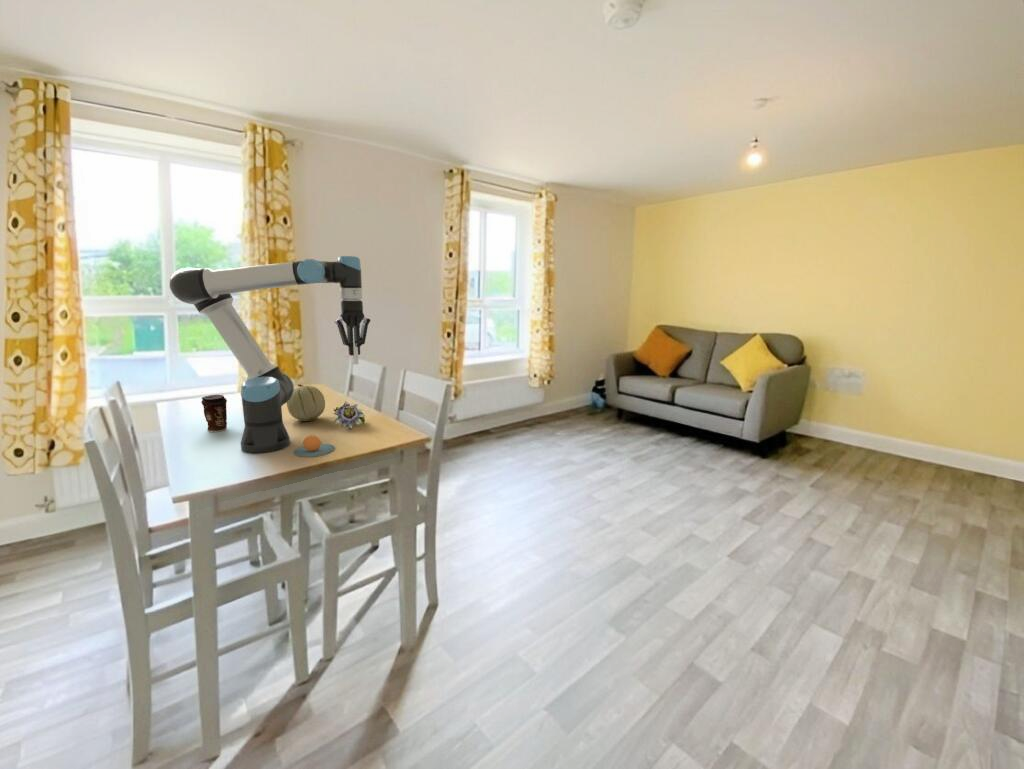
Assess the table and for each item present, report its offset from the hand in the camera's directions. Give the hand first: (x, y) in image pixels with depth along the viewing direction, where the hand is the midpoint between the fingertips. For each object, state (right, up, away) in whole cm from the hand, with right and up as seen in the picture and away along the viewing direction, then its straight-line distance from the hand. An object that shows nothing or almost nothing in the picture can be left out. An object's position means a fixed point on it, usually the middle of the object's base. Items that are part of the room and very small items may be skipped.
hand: (355, 363), depth 177 cm
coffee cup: (-54, -25, +4) cm, 60 cm away
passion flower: (-6, -25, +12) cm, 28 cm away
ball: (-9, -28, -17) cm, 34 cm away
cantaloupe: (-26, -23, +18) cm, 39 cm away
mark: (-9, -30, -16) cm, 35 cm away
